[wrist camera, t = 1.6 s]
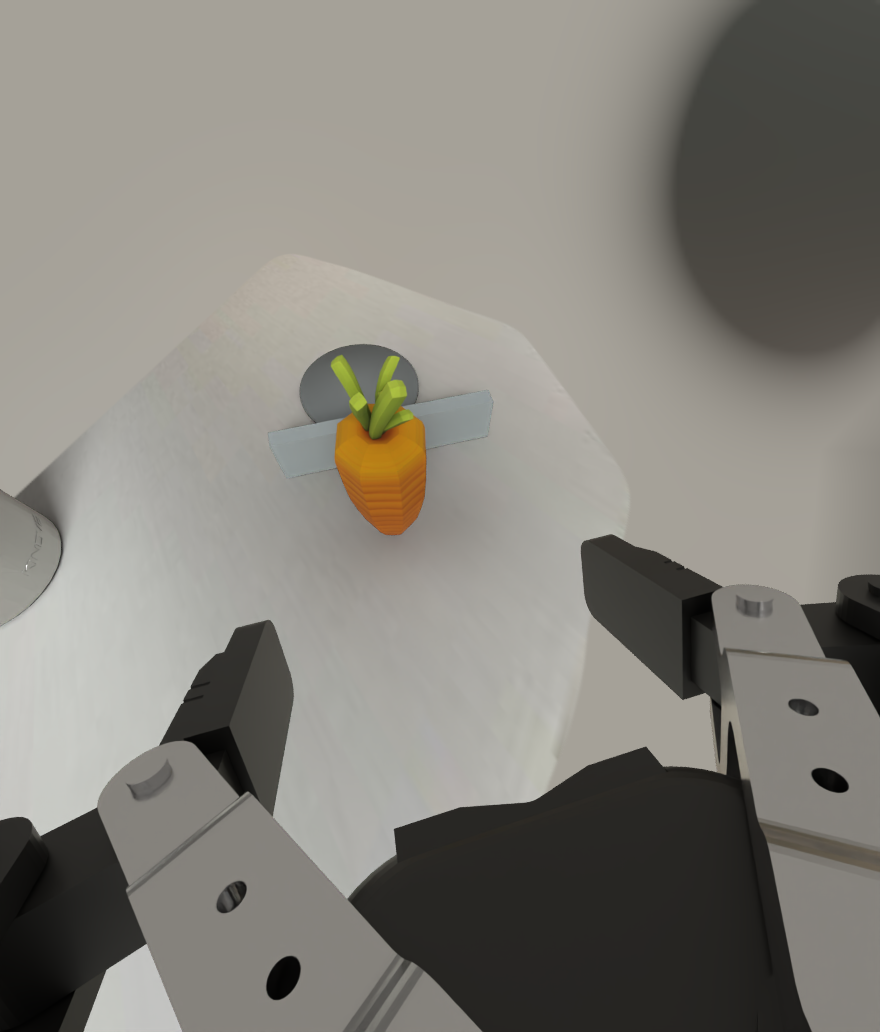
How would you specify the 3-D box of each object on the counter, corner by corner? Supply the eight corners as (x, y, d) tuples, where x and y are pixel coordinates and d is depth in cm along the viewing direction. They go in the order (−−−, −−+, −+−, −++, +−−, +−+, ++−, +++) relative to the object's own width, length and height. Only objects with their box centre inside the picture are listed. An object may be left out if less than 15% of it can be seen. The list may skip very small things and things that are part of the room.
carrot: (350, 515, 32) (292, 349, 19) (413, 491, 33) (400, 317, 20) (375, 574, 30) (329, 433, 17) (441, 546, 31) (448, 393, 18)
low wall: (286, 478, 33) (269, 446, 30) (285, 465, 34) (267, 432, 30) (487, 436, 36) (493, 401, 32) (482, 425, 36) (488, 389, 33)
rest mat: (308, 446, 35) (307, 443, 34) (294, 358, 39) (293, 355, 39) (431, 421, 36) (431, 418, 36) (403, 339, 41) (403, 336, 40)
